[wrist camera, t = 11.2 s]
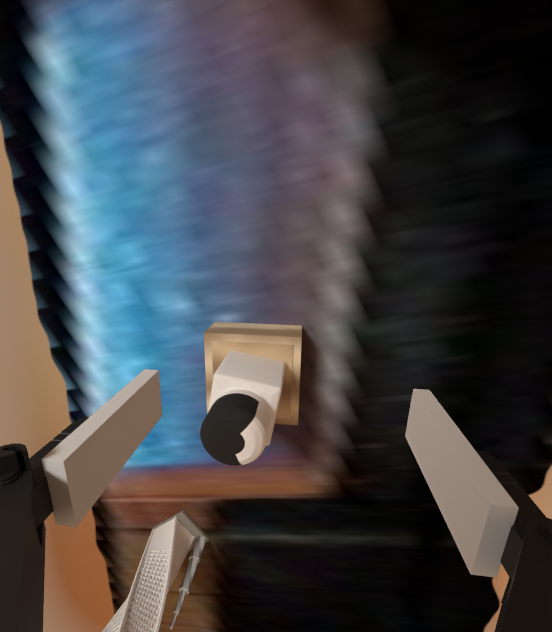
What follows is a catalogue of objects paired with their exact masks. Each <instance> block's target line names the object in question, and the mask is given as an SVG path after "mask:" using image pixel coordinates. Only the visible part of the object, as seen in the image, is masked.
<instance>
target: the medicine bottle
mask: <svg viewBox="0 0 552 632" xmlns="http://www.w3.org/2000/svg"><path fill="white" fill-rule="evenodd" d="M285 366H286V363H285V362H284V361H280V360H275V359H271V358H266V357H261V356H257V355H252V354H248V353H243V352H239V351H234V350H230V351H229V352H228V354H227V355H226V357H225V358H224V360H223V361H222V363H221V364H220V366H219V367H218V369H217V370H216V372H215V374H214V376H213V383H212V389H211V396H210V402H209V409H208V414H207V416H206V417H205V419H204V421H203V423H202V426H201V431H200V436H201V441H202V444H203V446H204V448H205V449H206V451H207V452H208V453H209V454H210V455H211V456H212V457H213V458H214V459H216V460H217V461H219V462H221V463H224V464H227V465H244V464H247V463H250V462H252V461H254V460H255V459H257V458H258V457H259V456H260V455H261V453H262V452H263V450H264V448H265V446H269V444H270V442H271V437H272V433H273V428H274V424H275V419H276V415H277V410H278V406H279V401H280V397H281V393H282V387H283V380H284V373H285Z"/></svg>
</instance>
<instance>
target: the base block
mask: <svg viewBox="0 0 552 632" xmlns="http://www.w3.org/2000/svg"><path fill="white" fill-rule="evenodd" d="M301 343H302V326H295V325H273V324H250V323H228V322H215V323H214V324H213V325H212V326H211V327H210V328H209V329H207V330H206V331H205V332H204V345H205V370H206V394H207V414H208V409H209V402H210V396H211V389H212V383H213V376H214V374H215V372H216V370H217V369H218V367H219V366H220V364H221V363H222V361H223V360H224V358H225V357H226V355H227V354H228V352H229V351H230V350H234V351H239V352H243V353H248V354H252V355H257V356H261V357H266V358H271V359H275V360H280V361H284V362H285V363H286V366H285V373H284V380H283V387H282V393H281V397H280V401H279V406H278V410H277V415H276V419H275V424H286V425H298V412H299V389H300V366H301Z"/></svg>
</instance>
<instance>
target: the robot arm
mask: <svg viewBox="0 0 552 632" xmlns="http://www.w3.org/2000/svg"><path fill="white" fill-rule="evenodd" d="M161 416H162V406H161V394H160V382H159V370H148V369H144V370H143V371H142V372H141V373H140V374H139V375H138V376H136V377H135V378H134V379H133V380H132V381H131V382H129V383H128V384H127V385H126V386H125V387H124V388H123V389H121V390H120V391H119V392H118V393H117V394H116V395H115V396H113V397H112V398H111V399H110V400H109V401H108V402H107V403H105V404H104V405H103V406H102V407H101V408H100V409H98V410H97V411H96V412H95V413H94V414H93V415H92V416H90V417H83V418H82V419H80V420H78V421H76V422H74V423H72V424H70V425H69V426H68V427H67V428H66V429H64V430H63V431H62V432H61V434H59V435H57V436H56V437H55V438H54V439H53V441H50V442H49V443H48V444H47V445H46V446H44V447H43V448H42V449H40V450H39V451H38V452H37V453H36V454H34V455H33V456H32V457H31V458H30V459H29V457H28V452H27V448H26V446H25V445H23V444H9V445H4V446H1V447H0V632H43V604H44V567H45V565H44V564H45V531H46V529H45V524H44V521H45V519H46V518H47V517H48V516H49V515H50V514H51V513H52V512H53V514H54V518H55V523H56V524H57V525H65V526H73V527H77V525H78V524H79V523H80V521H81V520H82V519H83V518H84V516H85V515H86V513H87V512H88V511H89V510H90V508H91V507H92V506H93V505H94V503H95V502H96V501H97V499H98V498H99V497H100V496H101V494H102V493H103V492H104V490H105V489H106V488H107V486H108V485H109V484H110V483H111V481H112V480H113V479H114V477H115V476H116V475H117V473H118V472H119V471H120V470H121V468H122V467H123V466H124V464H125V463H126V462H127V460H128V459H129V458H130V457H131V455H132V454H133V453H134V451H135V450H136V449H137V448H138V446H139V445H140V444H141V442H142V441H143V440H144V438H145V437H146V436H147V435H148V433H149V432H150V431H151V429H152V428H153V427H154V425H155V424H156V423H157V422H158V420H159V419H160V418H161ZM405 437H406V439H407V441H408V443H409V445H410V447H411V450H412V452H413V454H414V456H415V458H416V460H417V462H418V464H419V466H420V469H421V471H422V473H423V475H424V477H425V479H426V481H427V483H428V485H429V488H430V490H431V492H432V494H433V496H434V498H435V500H436V502H437V504H438V506H439V509H440V511H441V513H442V515H443V517H444V519H445V521H446V523H447V525H448V528H449V530H450V532H451V534H452V536H453V538H454V540H455V542H456V544H457V547H458V549H459V551H460V553H461V555H462V557H463V559H464V561H465V563H466V566H467V568H468V570H469V572H470V574H471V575H480V576H488V577H497V575H498V571H499V568H500V565H501V563H502V565H503V567H504V568H505V570H506V572H507V574H508V575H509V577H510V578H509V581H508V584H507V587H506V590H505V593H504V596H503V599H502V601H501V603H502V606H501V610H500V614H499V617H498V621H497V625H496V629H495V632H552V519H549V518H546V516H545V515H544V514H543V513H542V512H541V510H540V509H539V508H538V507H537V505H536V504H535V503H534V502H533V501H532V499H531V498H530V497H529V496H528V495H527V493H526V492H525V491H524V490H523V489H522V487H521V486H520V485H518V484H517V481H516V480H515V479H514V478H513V477H512V475H510V473H509V472H508V470H507V469H506V468H505V467H504V466H503V464H502V463H501V462H500V461H499V460H497V459H496V458H495V457H493V456H492V455H491V454H489V453H488V452H484V451H475V449H474V448H473V447H472V446H471V444H470V443H469V442H468V440H467V439H466V438H465V436H464V435H463V434H462V432H461V431H460V430H459V428H458V427H457V426H456V424H455V423H454V422H453V420H452V419H451V418H450V417H449V415H448V414H447V413H446V411H445V410H444V409H443V407H442V406H441V405H440V403H439V402H438V401H437V399H436V398H435V397H434V395H433V394H432V393H431V392H430V390H421V389H413V394H412V400H411V406H410V411H409V417H408V423H407V429H406V434H405Z"/></svg>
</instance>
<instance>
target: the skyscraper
mask: <svg viewBox="0 0 552 632" xmlns="http://www.w3.org/2000/svg"><path fill="white" fill-rule="evenodd" d="M208 541H209V537H208V536H207V535H206V534H205V533H204V532H203V531H202V530H201V529H200V528H199V527H198V525H197V524H196V523H195V522H194V521H193V520H192V519H191V518H190V517H189V516H188V515H187V513H186V512H185V511H184V510H183V511H181V512H179V513H178V514H176V515H174V516H172V517H171V518H169V519H167V520H165V521H164V522H162V523H160V524H158V525H157V526H155V527H154V528H153V530H152V532H151V535H150V537H149V540H148V543H147V545H146V548H145V551H144V553H143V556H142V559H141V561H140V564H139V567H138V570H137V573H136V576H135V579H134V582H133V585H132V588H131V591H130V594H129V596H128V598H127V599H126V601H125V602H124V603H123V604H122V606H121V607H120V608H119V610H118V611H117V612H116V614H115V615H114V616H113V618H112V619H111V620H110V622H109V623H108V625H107V626H106V628H105V629H104V630H103V632H158V630H159V626H160V622H161V618H162V614H163V609H164V605H165V600H166V595H167V593H168V591H169V589H170V587H171V585H172V583H173V581H174V579H175V577H176V575H177V573H178V571H179V569H180V567H181V565H182V563H183V561H184V559H185V557H186V555H187V553H188V552H189V551H191V550H193V551H192V553H191V555H190V557H189V564H188V568H187V571H186V574H185V576H184V579H183V581H182V583H181V585H180V588H179V592H180V597H179V600H178V602H177V605H176V607H175V610H174V614H175V615H174V618H173V621H172V624H171V626H170V629H173V626H174V622H175V619H176V616H177V615H178V614H179V613H180V610H181V606H182V603H183V600H184V597H185V595H187V594H189V591H190V587H191V583H192V579H193V575H194V573H195V570H196V568H197V566H198V563H200V559H201V555H202V550H203V548H204V546H205V544H206V542H208Z"/></svg>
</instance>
